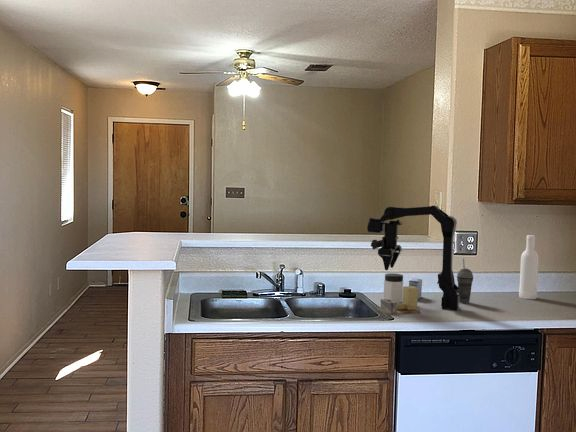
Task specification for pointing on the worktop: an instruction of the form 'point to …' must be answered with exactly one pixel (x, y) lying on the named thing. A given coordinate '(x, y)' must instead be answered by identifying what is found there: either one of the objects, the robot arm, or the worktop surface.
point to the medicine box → (416, 285)
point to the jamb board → (394, 308)
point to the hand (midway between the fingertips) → (389, 268)
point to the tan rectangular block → (409, 298)
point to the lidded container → (393, 287)
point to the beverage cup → (464, 284)
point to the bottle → (529, 270)
